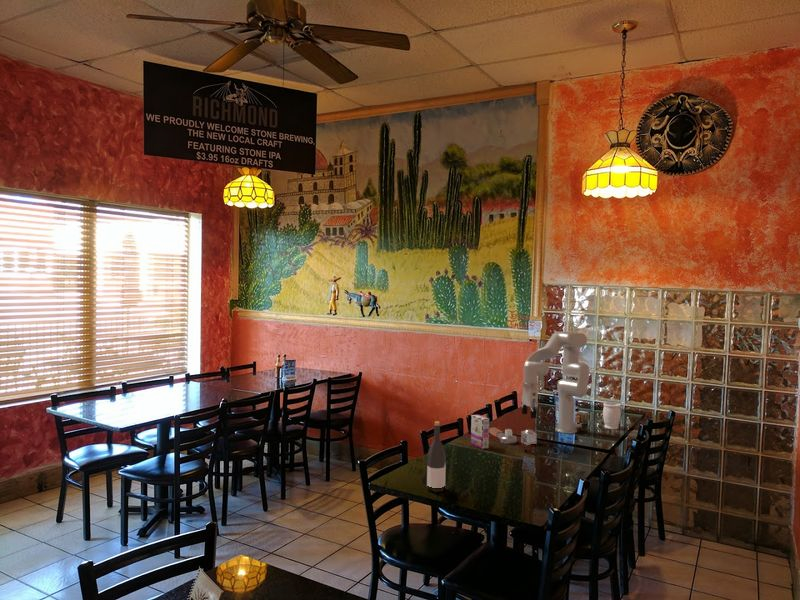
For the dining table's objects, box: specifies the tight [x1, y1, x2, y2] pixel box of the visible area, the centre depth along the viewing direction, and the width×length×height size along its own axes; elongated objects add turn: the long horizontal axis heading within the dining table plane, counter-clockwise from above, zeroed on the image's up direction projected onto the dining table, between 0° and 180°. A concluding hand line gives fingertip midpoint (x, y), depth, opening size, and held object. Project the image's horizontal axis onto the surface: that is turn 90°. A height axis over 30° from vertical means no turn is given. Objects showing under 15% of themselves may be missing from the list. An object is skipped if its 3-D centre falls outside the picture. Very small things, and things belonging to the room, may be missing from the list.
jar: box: [602, 401, 622, 430], centre depth 367 cm, size 11×10×15 cm
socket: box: [520, 429, 538, 446], centre depth 331 cm, size 6×6×7 cm
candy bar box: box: [470, 414, 491, 450], centre depth 324 cm, size 11×5×16 cm, turn 27°
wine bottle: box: [426, 421, 447, 488], centre depth 259 cm, size 8×8×30 cm
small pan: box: [489, 426, 518, 445], centre depth 341 cm, size 9×26×7 cm, turn 17°
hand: (528, 416), depth 330 cm, fingers open, 9 cm apart
